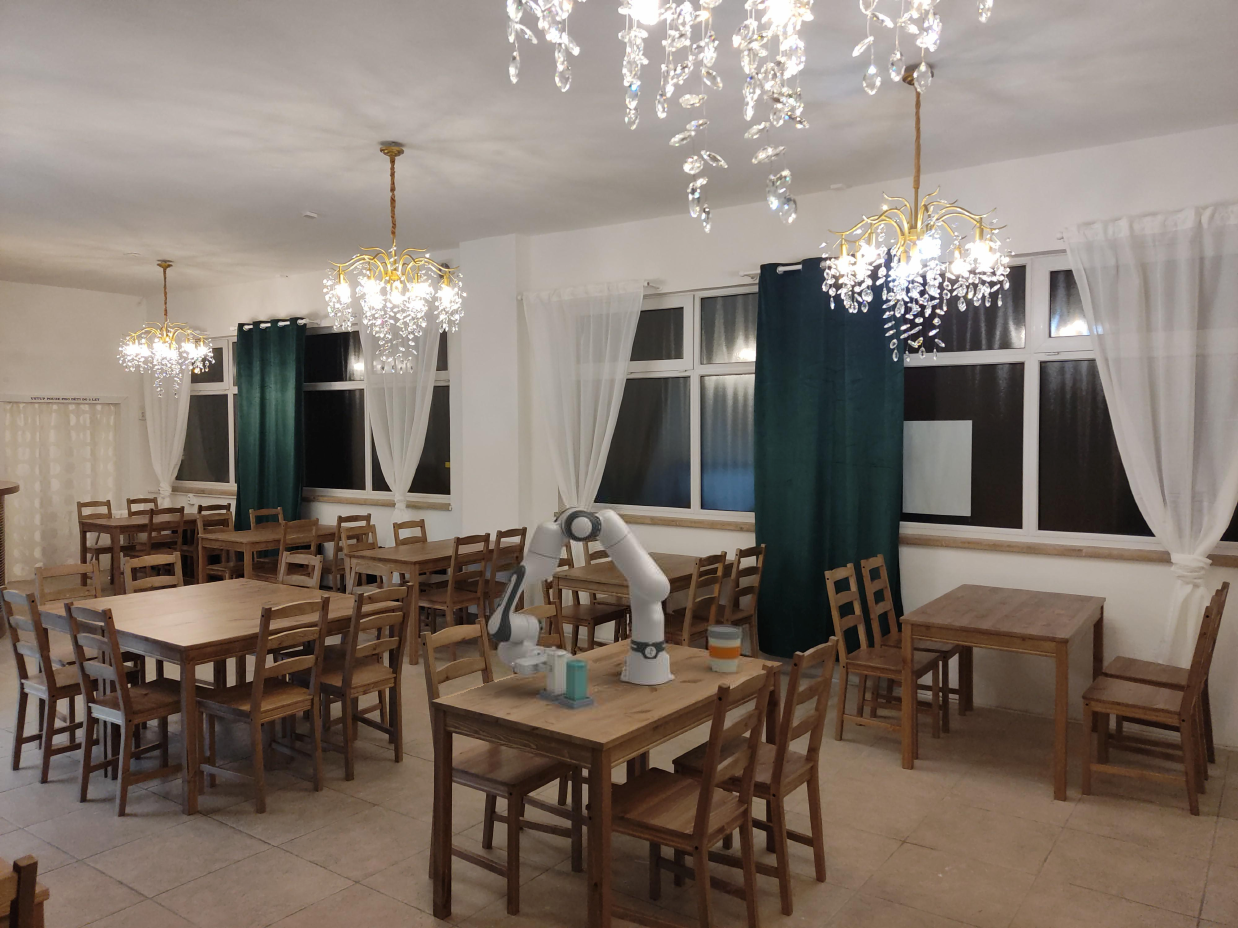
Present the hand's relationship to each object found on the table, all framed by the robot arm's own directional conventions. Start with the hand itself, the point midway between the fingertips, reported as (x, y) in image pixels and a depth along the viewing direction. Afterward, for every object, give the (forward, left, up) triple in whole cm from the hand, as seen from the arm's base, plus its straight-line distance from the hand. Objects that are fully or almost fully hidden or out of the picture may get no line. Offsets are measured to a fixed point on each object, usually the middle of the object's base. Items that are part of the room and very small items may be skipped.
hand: (558, 667), depth 277 cm
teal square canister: (+8, +5, -9) cm, 13 cm away
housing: (+3, +2, -11) cm, 12 cm away
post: (-1, -1, -8) cm, 8 cm away
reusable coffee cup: (-34, +62, -11) cm, 72 cm away
